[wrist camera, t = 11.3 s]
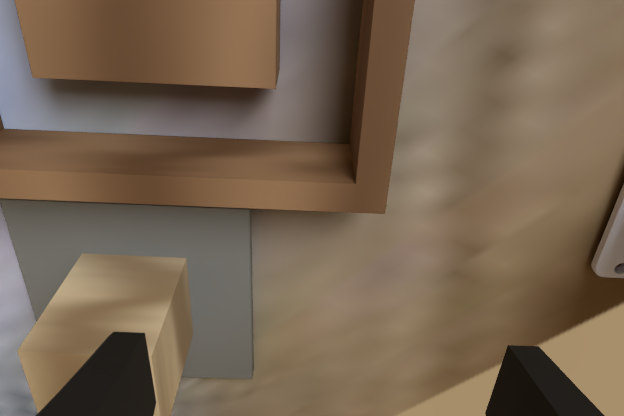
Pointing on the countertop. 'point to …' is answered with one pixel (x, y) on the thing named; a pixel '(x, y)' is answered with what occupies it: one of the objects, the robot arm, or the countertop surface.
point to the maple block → (112, 322)
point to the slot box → (209, 72)
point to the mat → (157, 243)
